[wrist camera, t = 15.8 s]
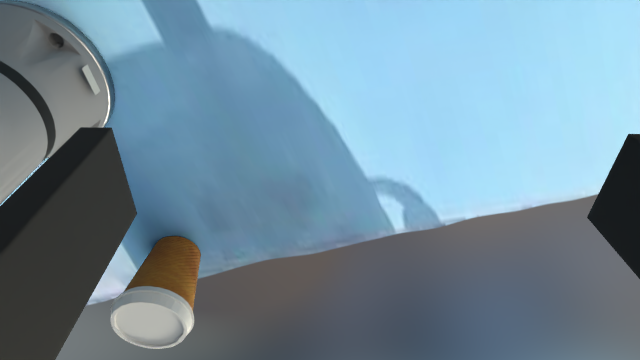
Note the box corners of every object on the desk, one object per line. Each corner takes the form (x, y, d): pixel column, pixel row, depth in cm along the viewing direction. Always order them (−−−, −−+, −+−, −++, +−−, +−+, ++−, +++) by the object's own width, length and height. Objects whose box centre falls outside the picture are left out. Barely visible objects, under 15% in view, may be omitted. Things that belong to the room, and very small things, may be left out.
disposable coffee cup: (143, 220, 54) (105, 292, 44) (216, 234, 56) (195, 307, 46) (141, 269, 59) (106, 344, 49) (207, 281, 61) (187, 356, 51)
